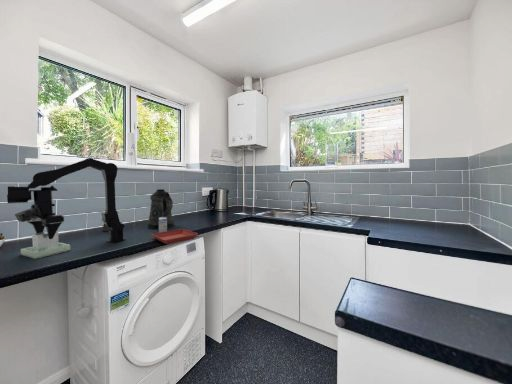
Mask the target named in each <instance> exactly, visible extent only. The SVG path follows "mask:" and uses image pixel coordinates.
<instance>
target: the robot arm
mask: <svg viewBox="0 0 512 384" xmlns="http://www.w3.org/2000/svg"><path fill="white" fill-rule="evenodd" d="M87 168H92V169H94V170H97V171H101V174H102V178H103V180H104V195H105V211H104V212H101V216H102V218H101V221H102V222H103V225H104V224H105V225H107V226H108V227H109V228H110V229H109V231H108V237H109V239H107V240H106V242H108V243H109V242H110V243H117V242H121V241H126V240H127V238H126V237H125V238H124V229H125V227H126V225H125V224H124V223H122V222H121V221H120V217H119V212H118V211H117V207H116V185H115V184H116V178H117V176H118V175H117V174H118V166H117V165H116V164H115V163H114V162H104V161H100V160H97V159H94V158H92V157H87V158H85V159H84V160H79V161H78V162H75V163H71V164H69V165H66V166H63V167H60V168H56V169H51V170H46V171H45V170H44V171H39V172H37V173H35V174H34V175H33V176H32V181H31V182H30V183H29V184H28V185H27V186H13V185H11V186H7V194H6V199H7V200H6V201H7V204H25V203H29V201H32V193H33V204H31V205H30V208H27V209H25V210H22V211H20V212H17V213H15V214H14V217H15V218H16V220H17V221H18V222H21V223H24V222H26V223H28V224H30V225H31V226H32V228H33V229H34V231H35V234H37V233H42V232H45V229H46V232H47V233H48V237H49V239H53V237H54V235H55V233H56V231H57V232H58V230H59V228H60V226H61V225H62V224H63V222H65V216H63V215H61V214H56V213H55V212H54V210H53V207H55V205H56V204H55V203H53V192H57V191H58V189H57V188H56V187H54V185H51V186H47V185H50V184H52V183H54V182H55V181H58V180H59V179H60V178H63V177H64V176H68V175H70V174H73V173H76V172H78V171H81V170H84V169H87ZM38 187H40V189H37V188H38ZM117 212H118V213H117ZM119 221H120V222H119Z"/></svg>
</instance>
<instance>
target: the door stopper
mask: <svg viewBox="0 0 512 384" xmlns="http://www.w3.org/2000/svg"><path fill="white" fill-rule="evenodd" d="M117 213H118V214H119V212H118V211H117ZM119 222H121V221H120V220H119ZM109 229H110V228H109V227H108V226H107V225H105V224H104V223H103V225H102V229H101V230H102V232H103V231H104V232H109Z"/></svg>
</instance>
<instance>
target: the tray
mask: <svg viewBox="0 0 512 384" xmlns="http://www.w3.org/2000/svg"><path fill="white" fill-rule="evenodd" d="M69 251H71V244H67V243H64V242H59V247H57V248H53V249H48V250H44V251H40V252H33V246H29V247H24V248H20V255H21V256H23V257H28V258H31V259H34V260H36V259H41V258H44V257H49V256H54V255H57V254H61V253H66V252H69Z"/></svg>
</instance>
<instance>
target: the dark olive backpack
mask: <svg viewBox="0 0 512 384" xmlns="http://www.w3.org/2000/svg"><path fill="white" fill-rule="evenodd" d="M149 198H150V199H149V200H150V201H151V202H150V211H149V216H148V219H147V223H146V224H147V227H148V229H152V230H159V218H160V217H166V218H167V229H168V228H173V226H174V224H175V223H174V222H175V220H174V217H173V215H172V209H173V205H174V202H173V199H172V198H171V196H170V193H169V192H167V191H165V189H162V188H160V189H156V191H155V192H154V193H152V194H151V195H150V196H149Z"/></svg>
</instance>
